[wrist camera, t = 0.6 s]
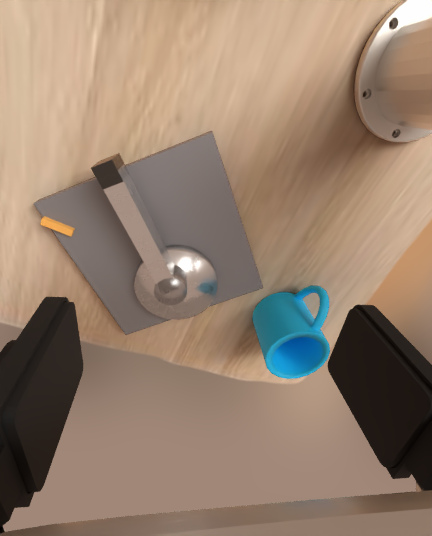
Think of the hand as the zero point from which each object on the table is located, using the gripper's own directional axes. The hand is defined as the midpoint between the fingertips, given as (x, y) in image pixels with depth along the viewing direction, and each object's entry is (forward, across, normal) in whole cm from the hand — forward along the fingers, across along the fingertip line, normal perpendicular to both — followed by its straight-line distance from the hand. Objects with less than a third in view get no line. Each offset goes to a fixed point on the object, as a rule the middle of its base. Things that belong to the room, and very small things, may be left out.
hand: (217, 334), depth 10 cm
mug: (+26, -15, +17) cm, 35 cm away
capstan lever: (+24, +3, +8) cm, 26 cm away
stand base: (+26, +3, +9) cm, 27 cm away
